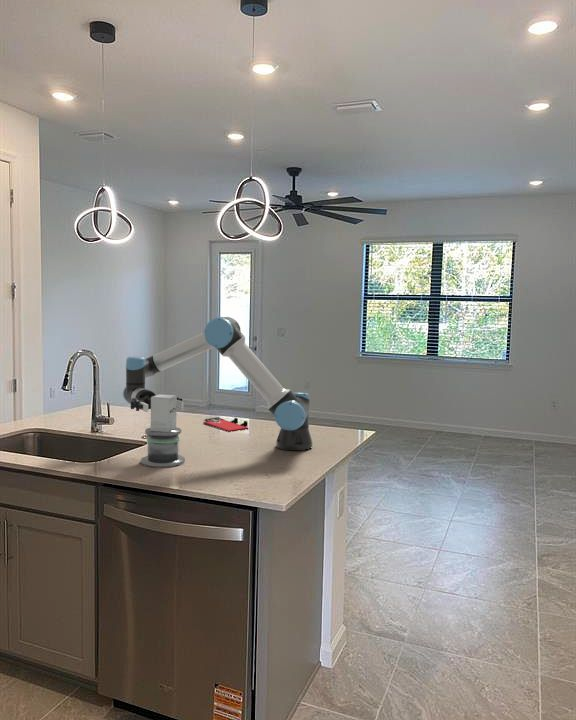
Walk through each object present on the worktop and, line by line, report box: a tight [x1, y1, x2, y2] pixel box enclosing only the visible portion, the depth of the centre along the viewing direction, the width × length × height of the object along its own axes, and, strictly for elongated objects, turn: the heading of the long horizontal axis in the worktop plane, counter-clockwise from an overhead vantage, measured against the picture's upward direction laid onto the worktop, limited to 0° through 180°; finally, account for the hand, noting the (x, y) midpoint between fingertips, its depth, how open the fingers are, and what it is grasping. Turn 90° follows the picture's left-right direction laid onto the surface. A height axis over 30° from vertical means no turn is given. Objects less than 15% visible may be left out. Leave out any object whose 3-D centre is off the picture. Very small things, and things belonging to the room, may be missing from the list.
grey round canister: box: [140, 426, 186, 468], centre depth 216 cm, size 16×16×12 cm
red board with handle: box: [203, 417, 249, 433], centre depth 288 cm, size 30×3×15 cm
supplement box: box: [150, 394, 178, 432], centre depth 215 cm, size 7×7×13 cm
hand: (165, 406), depth 213 cm, fingers open, 13 cm apart
